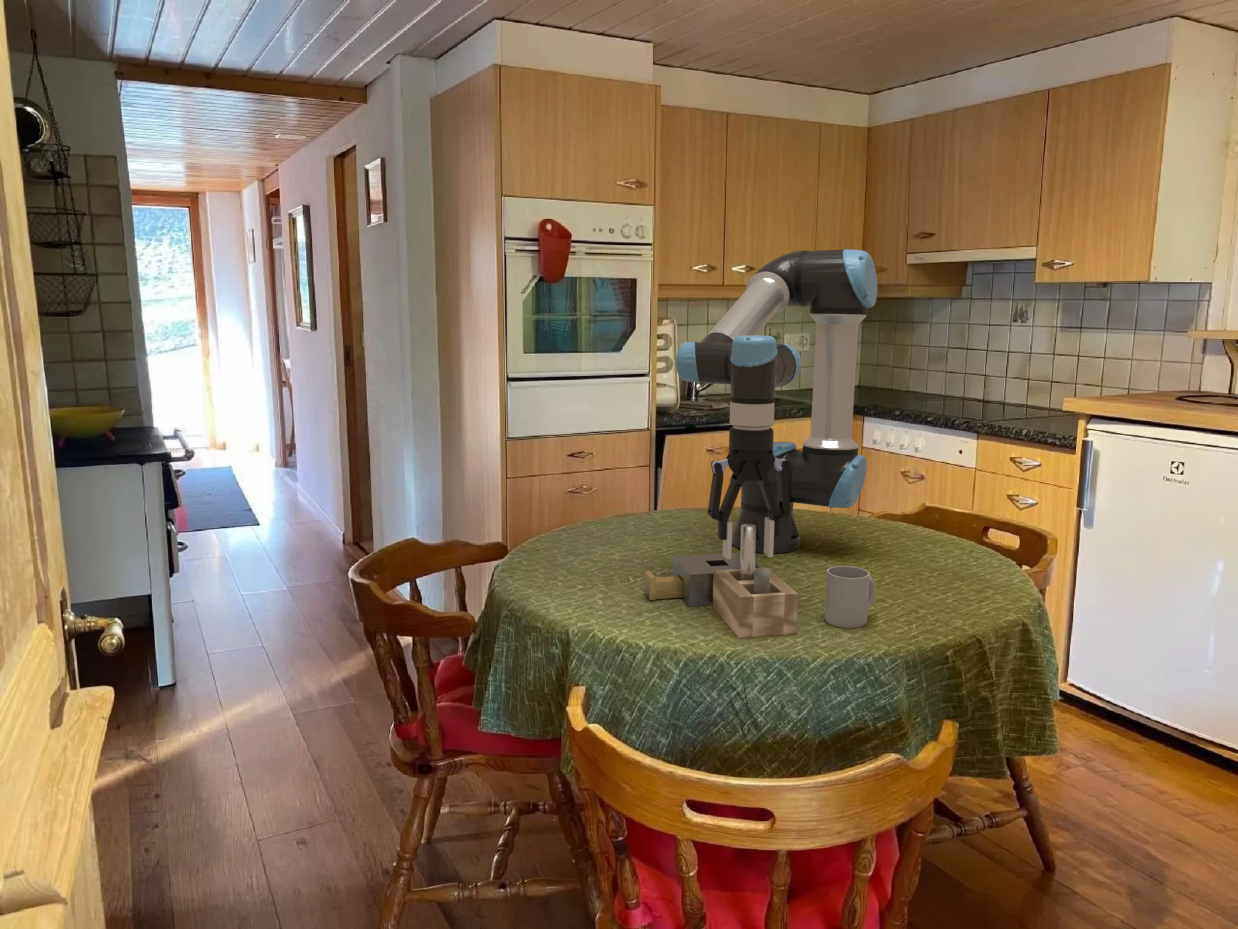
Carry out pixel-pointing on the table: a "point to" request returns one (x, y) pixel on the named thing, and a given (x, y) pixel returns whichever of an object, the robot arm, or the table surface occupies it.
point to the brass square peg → (663, 586)
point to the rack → (755, 603)
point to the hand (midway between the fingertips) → (747, 555)
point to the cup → (848, 596)
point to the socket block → (702, 575)
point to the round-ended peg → (747, 551)
